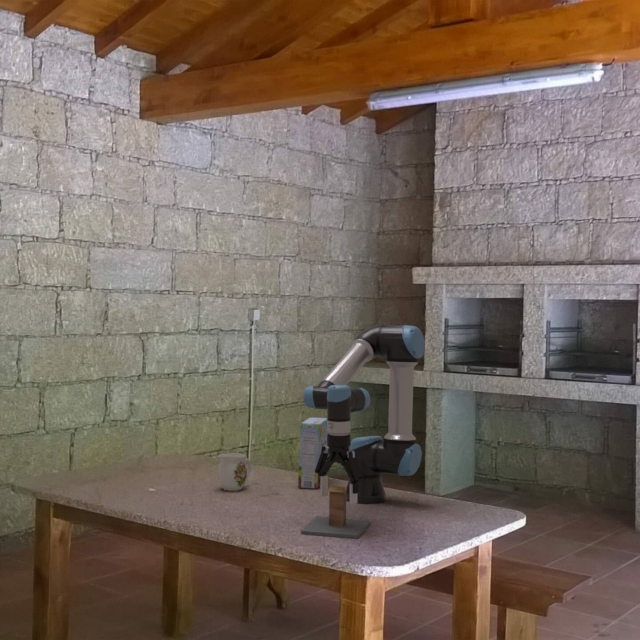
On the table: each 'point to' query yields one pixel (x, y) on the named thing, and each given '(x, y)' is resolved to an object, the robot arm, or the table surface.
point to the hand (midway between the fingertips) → (338, 499)
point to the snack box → (311, 451)
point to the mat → (336, 528)
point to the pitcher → (233, 471)
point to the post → (337, 506)
